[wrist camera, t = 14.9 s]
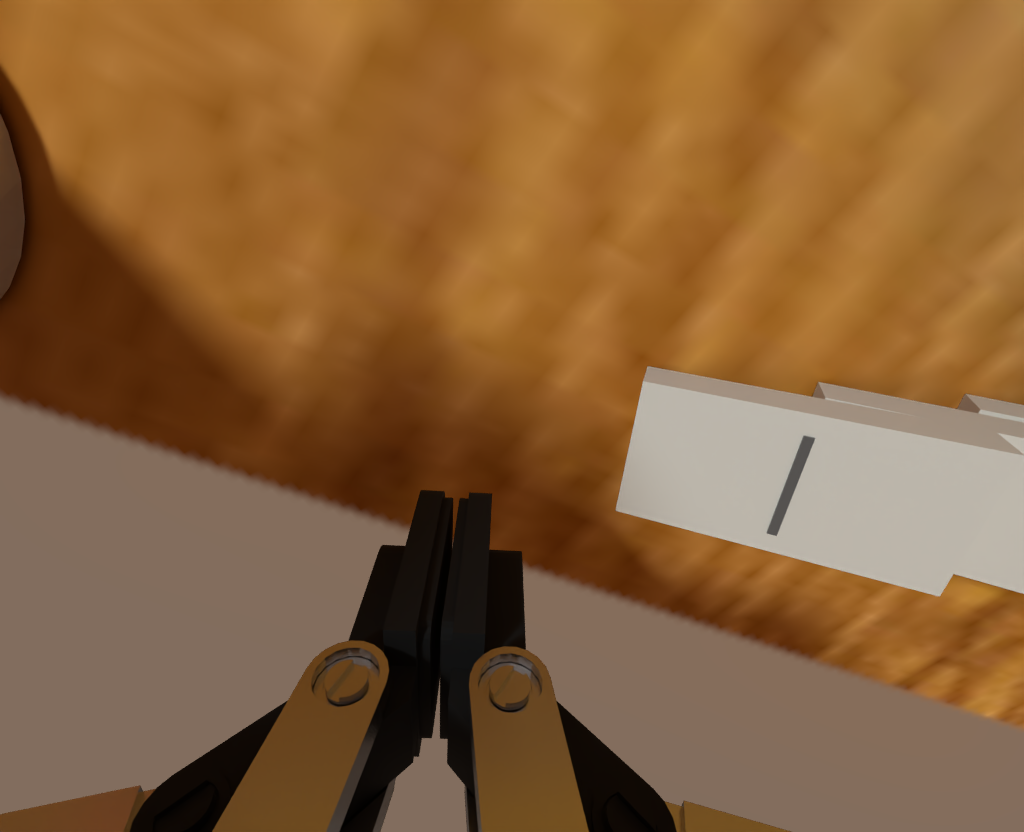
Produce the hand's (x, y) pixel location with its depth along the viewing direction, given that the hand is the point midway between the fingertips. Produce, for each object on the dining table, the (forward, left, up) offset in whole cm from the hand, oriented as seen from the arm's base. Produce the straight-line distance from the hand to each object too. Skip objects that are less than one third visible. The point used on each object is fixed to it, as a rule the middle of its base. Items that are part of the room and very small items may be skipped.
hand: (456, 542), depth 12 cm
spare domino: (+5, 0, -6) cm, 8 cm away
